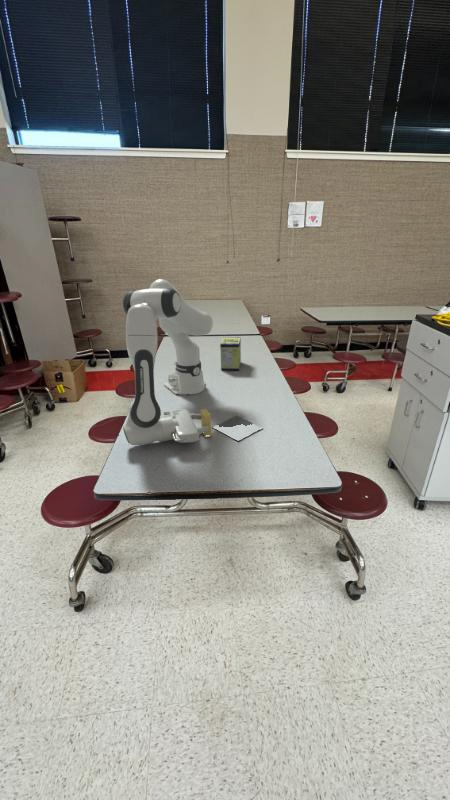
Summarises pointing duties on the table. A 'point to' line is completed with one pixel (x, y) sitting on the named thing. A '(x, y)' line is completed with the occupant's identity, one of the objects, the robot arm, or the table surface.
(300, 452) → the table surface
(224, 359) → the protein box
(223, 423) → the mat
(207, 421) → the box
